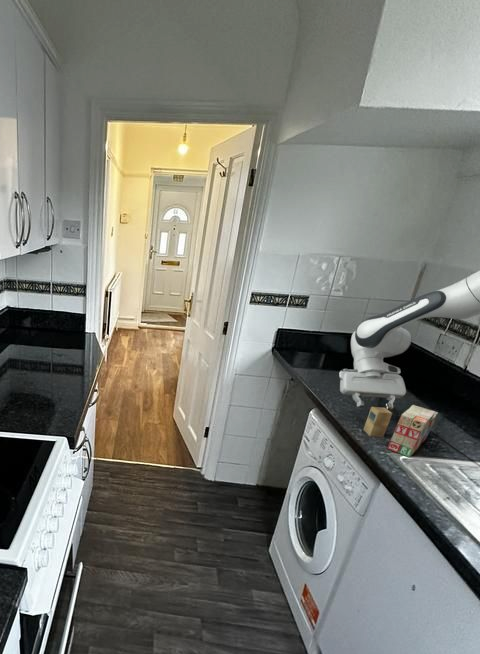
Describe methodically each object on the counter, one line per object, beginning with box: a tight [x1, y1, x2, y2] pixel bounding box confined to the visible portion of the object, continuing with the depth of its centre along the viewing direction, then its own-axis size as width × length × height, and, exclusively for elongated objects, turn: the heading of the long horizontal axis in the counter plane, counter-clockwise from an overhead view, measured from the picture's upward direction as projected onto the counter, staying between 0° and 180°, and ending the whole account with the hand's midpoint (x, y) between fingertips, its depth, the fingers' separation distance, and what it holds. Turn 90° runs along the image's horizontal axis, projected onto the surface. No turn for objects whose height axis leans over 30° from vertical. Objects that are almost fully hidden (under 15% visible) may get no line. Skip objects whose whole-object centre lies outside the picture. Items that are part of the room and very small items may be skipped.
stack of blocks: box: [386, 404, 439, 458], centre depth 132 cm, size 21×6×12 cm, turn 131°
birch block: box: [362, 406, 393, 438], centre depth 138 cm, size 4×4×9 cm
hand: (375, 407), depth 140 cm, fingers open, 8 cm apart
